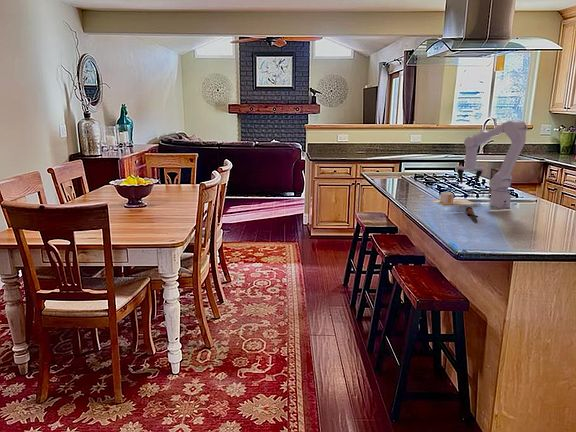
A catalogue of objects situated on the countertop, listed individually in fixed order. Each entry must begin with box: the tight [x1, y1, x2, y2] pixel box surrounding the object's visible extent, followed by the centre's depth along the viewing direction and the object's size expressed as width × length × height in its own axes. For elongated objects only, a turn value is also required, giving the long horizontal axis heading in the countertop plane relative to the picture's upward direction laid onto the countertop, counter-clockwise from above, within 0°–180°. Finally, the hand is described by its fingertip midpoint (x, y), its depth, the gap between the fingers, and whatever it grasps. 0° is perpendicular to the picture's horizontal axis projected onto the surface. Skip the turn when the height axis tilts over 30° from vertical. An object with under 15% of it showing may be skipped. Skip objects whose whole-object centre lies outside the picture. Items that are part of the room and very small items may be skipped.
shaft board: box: [429, 198, 478, 207], centre depth 240 cm, size 16×20×4 cm
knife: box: [465, 206, 479, 224], centre depth 209 cm, size 25×3×5 cm
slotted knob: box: [439, 191, 455, 204], centre depth 239 cm, size 6×4×5 cm
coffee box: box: [488, 167, 501, 194], centre depth 259 cm, size 9×6×16 cm
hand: (468, 184), depth 246 cm, fingers open, 7 cm apart
